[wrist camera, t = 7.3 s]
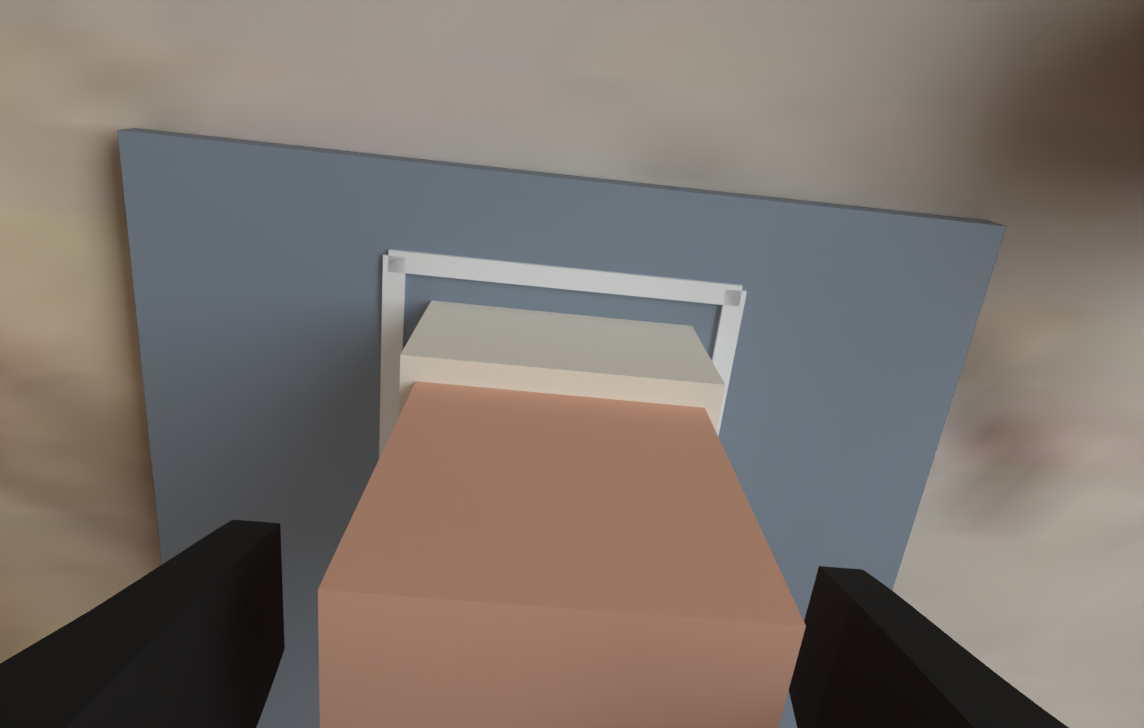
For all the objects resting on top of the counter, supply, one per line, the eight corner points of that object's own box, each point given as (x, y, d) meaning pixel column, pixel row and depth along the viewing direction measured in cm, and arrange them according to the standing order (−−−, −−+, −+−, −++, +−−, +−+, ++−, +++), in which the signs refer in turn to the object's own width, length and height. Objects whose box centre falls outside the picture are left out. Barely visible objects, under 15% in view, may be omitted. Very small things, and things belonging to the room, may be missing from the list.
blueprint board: (776, 915, 21) (818, 1073, 18) (207, 887, 20) (138, 1046, 17) (988, 220, 14) (1121, 263, 11) (135, 128, 13) (-6, 143, 10)
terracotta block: (661, 637, 13) (720, 943, 8) (406, 619, 13) (321, 923, 8) (704, 408, 12) (806, 626, 7) (415, 380, 11) (318, 589, 7)
